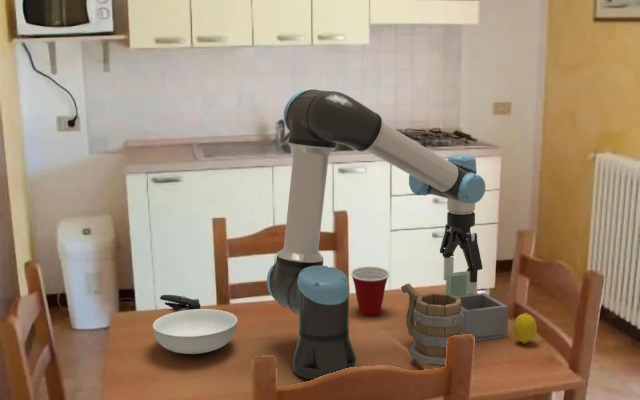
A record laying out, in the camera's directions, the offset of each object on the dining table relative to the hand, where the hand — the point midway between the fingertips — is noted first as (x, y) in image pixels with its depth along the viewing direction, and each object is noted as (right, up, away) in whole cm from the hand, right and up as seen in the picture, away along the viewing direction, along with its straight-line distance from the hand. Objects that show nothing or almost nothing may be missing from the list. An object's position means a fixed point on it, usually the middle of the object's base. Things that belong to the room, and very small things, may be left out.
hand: (459, 286), depth 217 cm
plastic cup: (-25, -8, +1) cm, 26 cm away
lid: (0, -7, +1) cm, 7 cm away
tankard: (-12, -13, -27) cm, 32 cm away
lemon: (+12, -12, -24) cm, 29 cm away
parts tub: (+1, -10, -15) cm, 18 cm away
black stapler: (-79, -8, +4) cm, 79 cm away
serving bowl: (-70, -13, -23) cm, 74 cm away
